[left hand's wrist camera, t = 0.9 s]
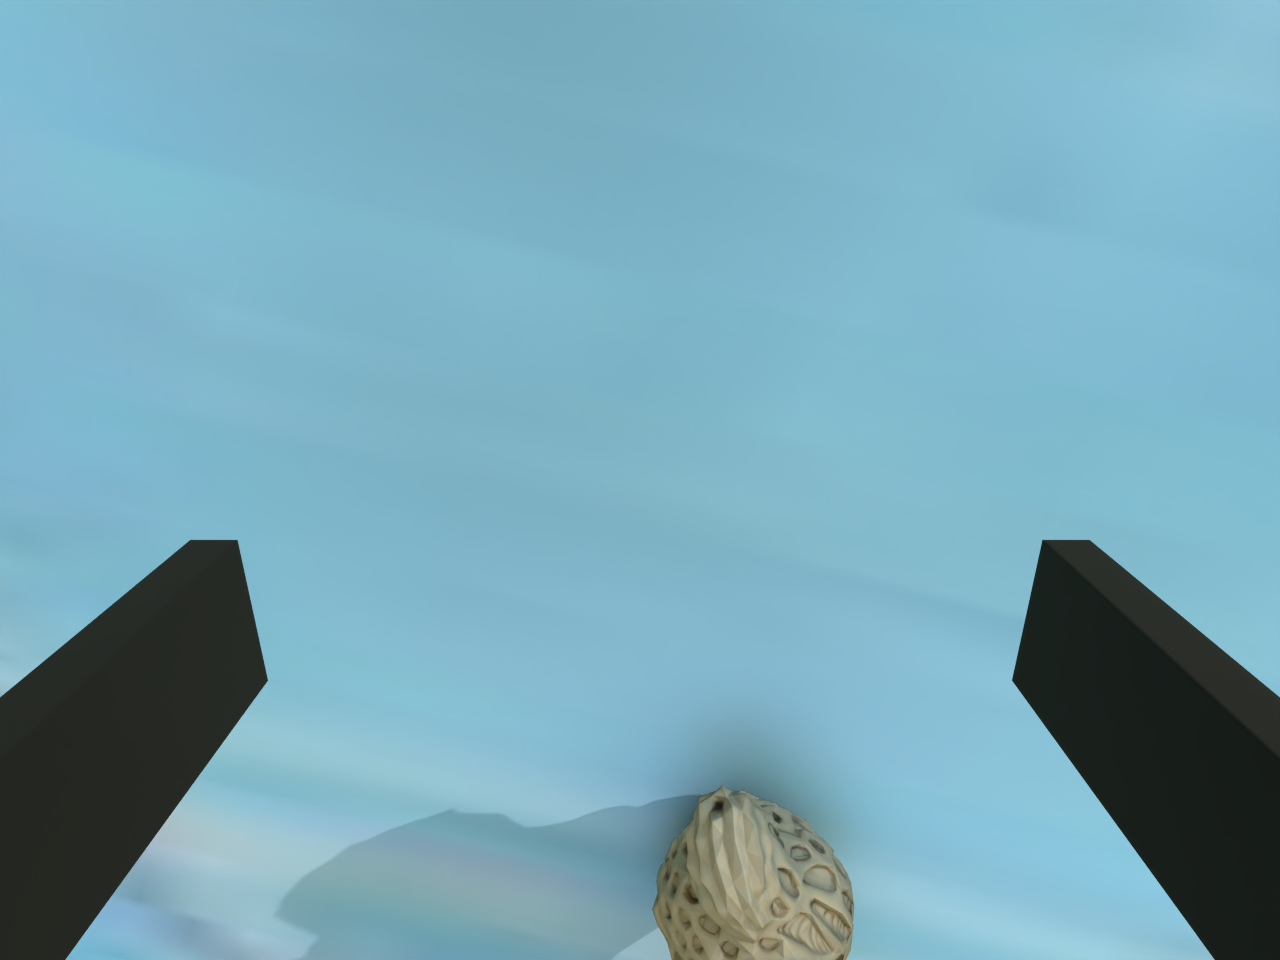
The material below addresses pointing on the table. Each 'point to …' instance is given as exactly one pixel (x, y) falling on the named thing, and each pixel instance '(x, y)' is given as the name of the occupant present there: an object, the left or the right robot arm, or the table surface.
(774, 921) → the teapot
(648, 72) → the table surface
